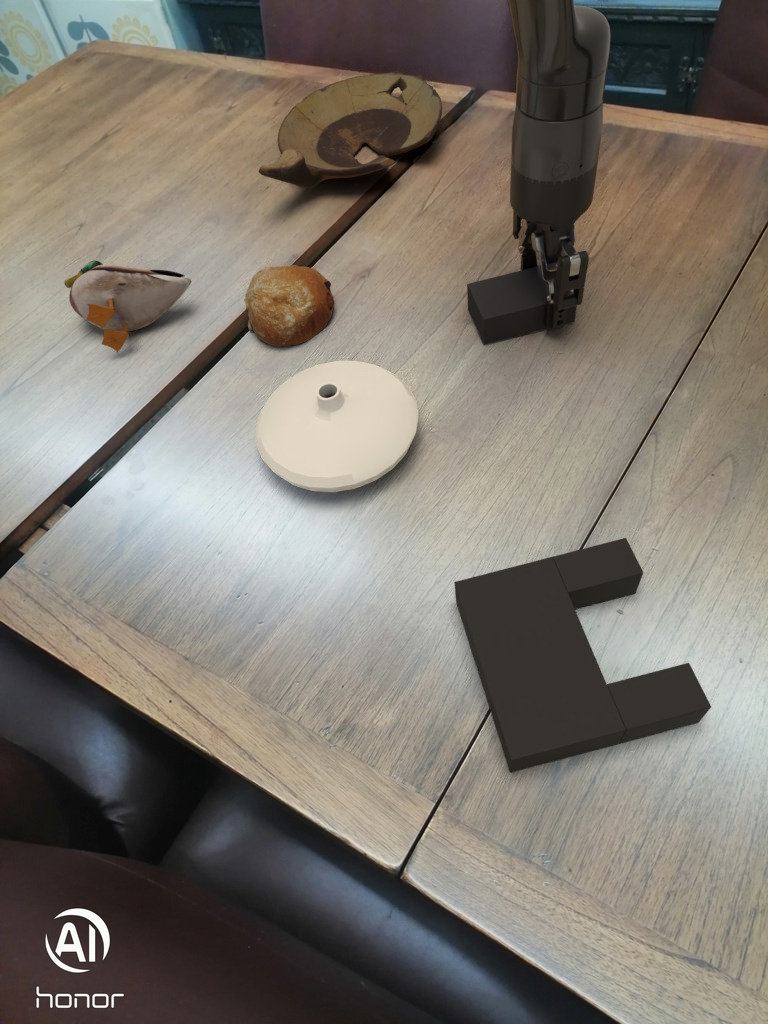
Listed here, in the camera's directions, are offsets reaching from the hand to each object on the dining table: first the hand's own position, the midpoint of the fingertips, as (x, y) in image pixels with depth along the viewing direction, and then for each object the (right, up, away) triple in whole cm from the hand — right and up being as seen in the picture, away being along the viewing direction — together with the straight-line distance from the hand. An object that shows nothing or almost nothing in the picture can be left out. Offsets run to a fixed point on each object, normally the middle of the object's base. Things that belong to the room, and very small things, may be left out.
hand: (542, 303), depth 74 cm
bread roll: (-27, 0, +6) cm, 28 cm away
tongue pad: (-2, -1, +1) cm, 3 cm away
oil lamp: (-22, +27, +23) cm, 42 cm away
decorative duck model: (-47, +2, +10) cm, 48 cm away
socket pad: (-3, -34, -21) cm, 40 cm away
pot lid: (-21, -15, -6) cm, 27 cm away
